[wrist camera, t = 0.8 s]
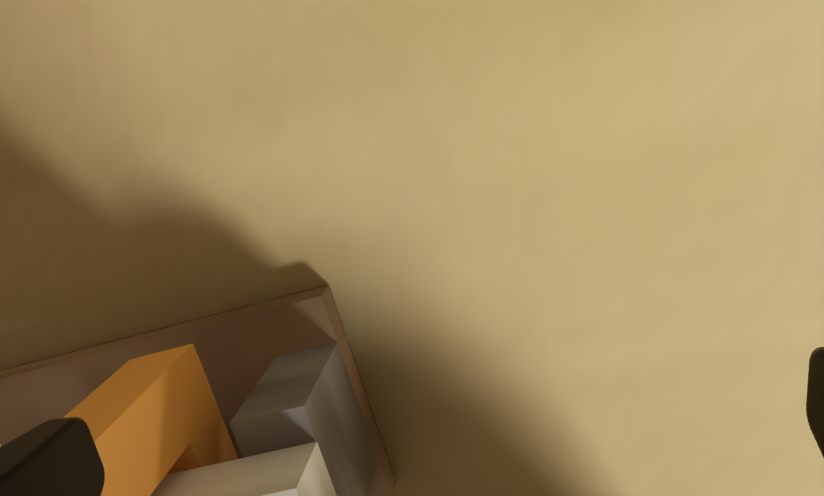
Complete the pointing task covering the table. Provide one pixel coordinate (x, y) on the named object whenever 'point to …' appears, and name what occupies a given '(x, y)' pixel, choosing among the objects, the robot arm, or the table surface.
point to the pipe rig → (241, 399)
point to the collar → (155, 421)
